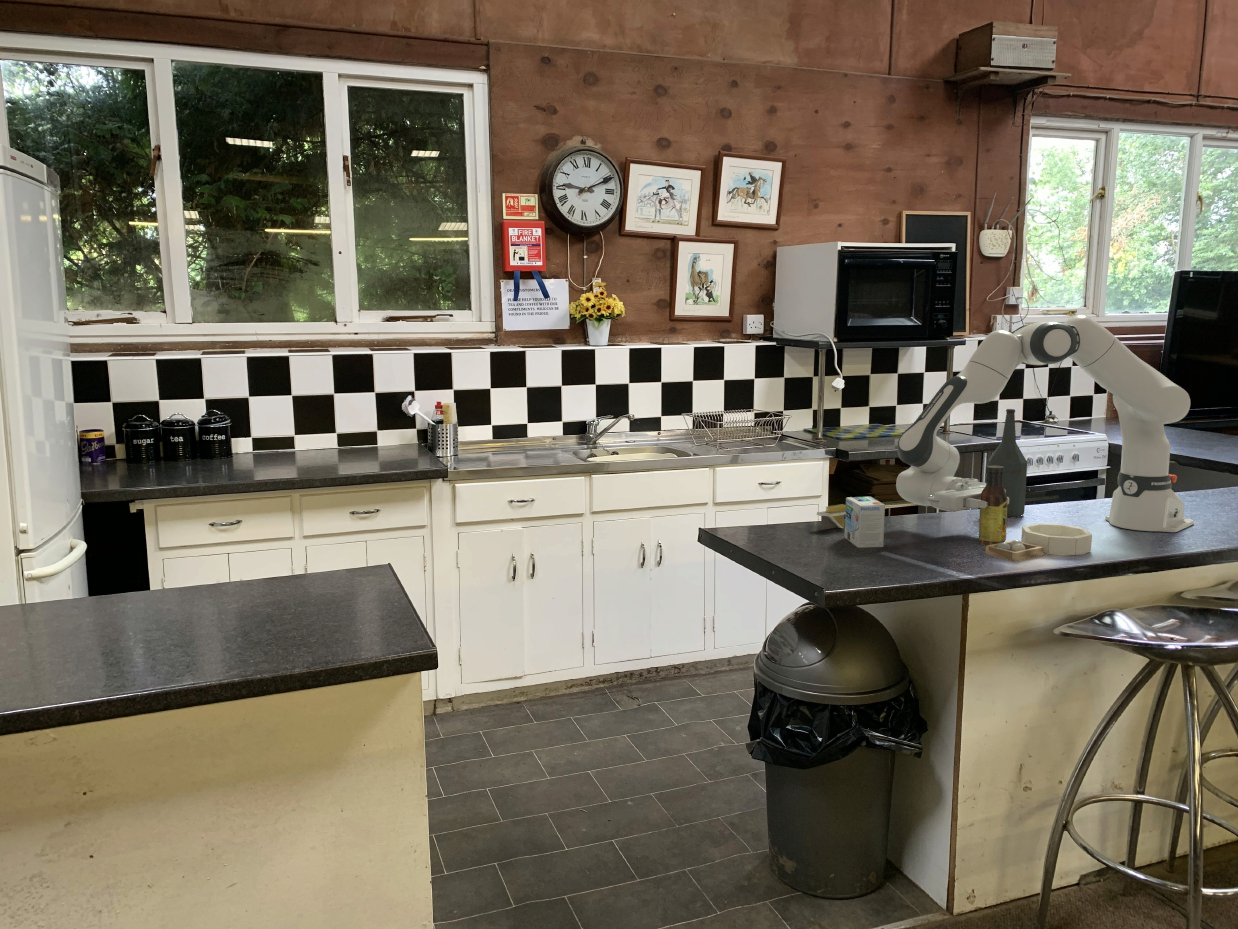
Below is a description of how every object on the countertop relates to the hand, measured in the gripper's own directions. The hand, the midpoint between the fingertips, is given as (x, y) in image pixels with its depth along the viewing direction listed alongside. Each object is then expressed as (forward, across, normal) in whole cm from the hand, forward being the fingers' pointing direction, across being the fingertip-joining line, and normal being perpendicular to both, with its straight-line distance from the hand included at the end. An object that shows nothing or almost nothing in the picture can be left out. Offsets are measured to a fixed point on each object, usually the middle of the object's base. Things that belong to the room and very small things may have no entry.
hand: (997, 503), depth 227 cm
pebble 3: (+10, -5, +10) cm, 16 cm away
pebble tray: (+9, -5, +11) cm, 15 cm away
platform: (-36, -18, +12) cm, 42 cm away
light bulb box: (-21, -23, +11) cm, 33 cm away
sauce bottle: (-1, 0, +11) cm, 11 cm away
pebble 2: (+8, -3, +10) cm, 13 cm away
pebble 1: (+8, -7, +10) cm, 15 cm away
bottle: (-23, +34, +11) cm, 43 cm away
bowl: (+10, +9, +11) cm, 17 cm away
